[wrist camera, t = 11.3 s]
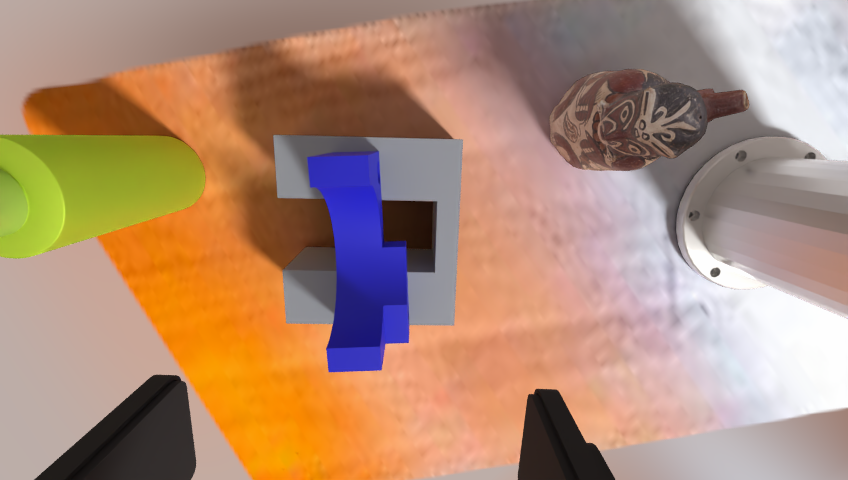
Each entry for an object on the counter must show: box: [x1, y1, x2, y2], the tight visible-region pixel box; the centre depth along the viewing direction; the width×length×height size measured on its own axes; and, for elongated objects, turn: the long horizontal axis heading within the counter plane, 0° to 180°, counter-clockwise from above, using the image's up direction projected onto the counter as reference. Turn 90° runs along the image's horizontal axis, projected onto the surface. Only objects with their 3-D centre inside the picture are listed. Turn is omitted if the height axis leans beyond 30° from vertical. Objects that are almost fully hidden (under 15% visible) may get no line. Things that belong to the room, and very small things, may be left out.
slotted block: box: [273, 135, 463, 325], centre depth 30 cm, size 12×13×6 cm
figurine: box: [549, 69, 749, 171], centre depth 25 cm, size 7×7×12 cm
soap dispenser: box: [0, 135, 205, 258], centre depth 22 cm, size 6×7×20 cm
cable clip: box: [307, 151, 409, 372], centre depth 24 cm, size 12×4×6 cm, turn 2°
